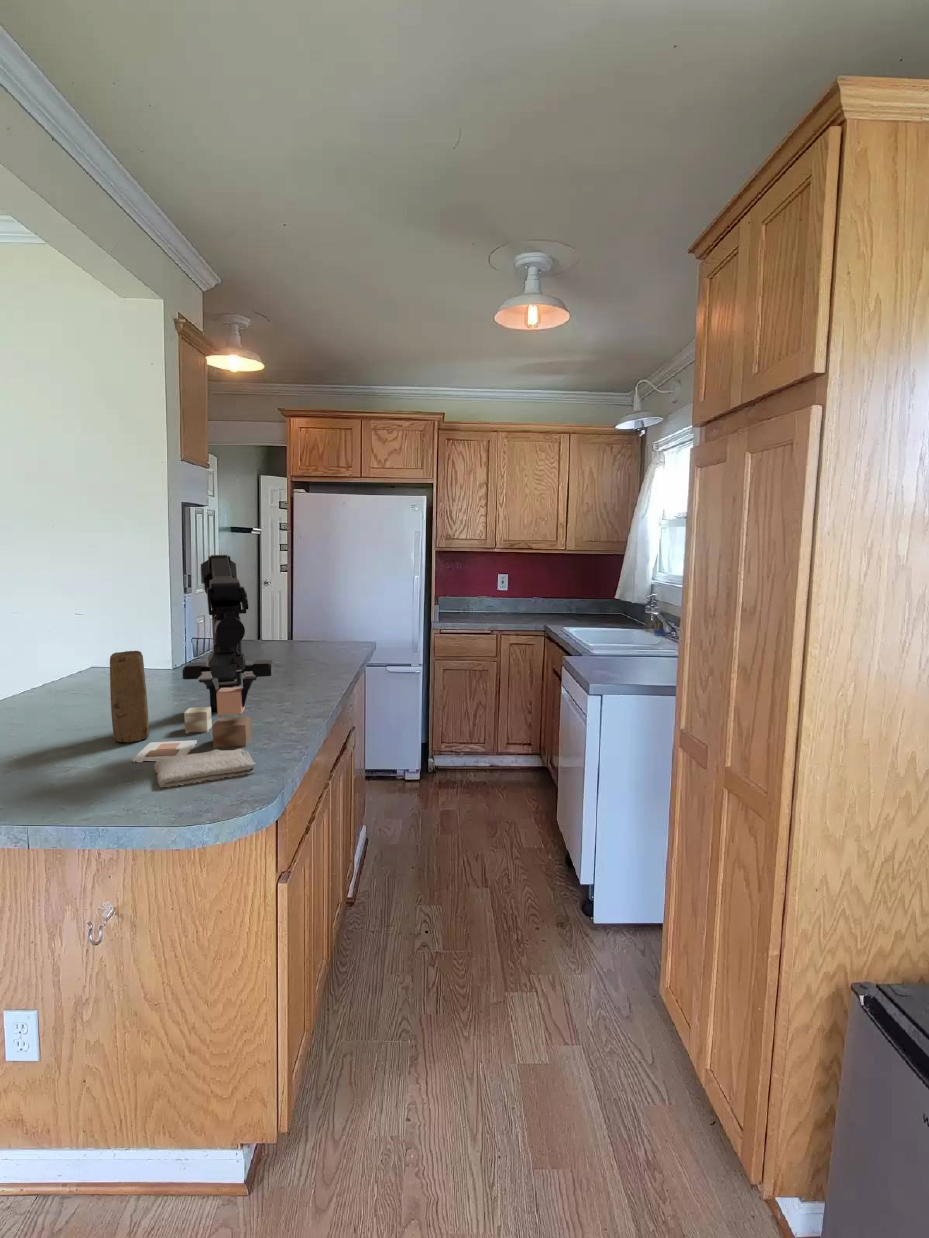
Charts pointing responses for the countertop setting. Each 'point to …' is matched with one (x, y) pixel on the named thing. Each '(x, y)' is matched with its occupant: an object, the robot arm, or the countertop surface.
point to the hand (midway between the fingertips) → (231, 707)
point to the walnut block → (232, 732)
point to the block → (128, 697)
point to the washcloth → (203, 767)
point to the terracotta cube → (230, 701)
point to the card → (165, 750)
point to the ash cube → (198, 719)
